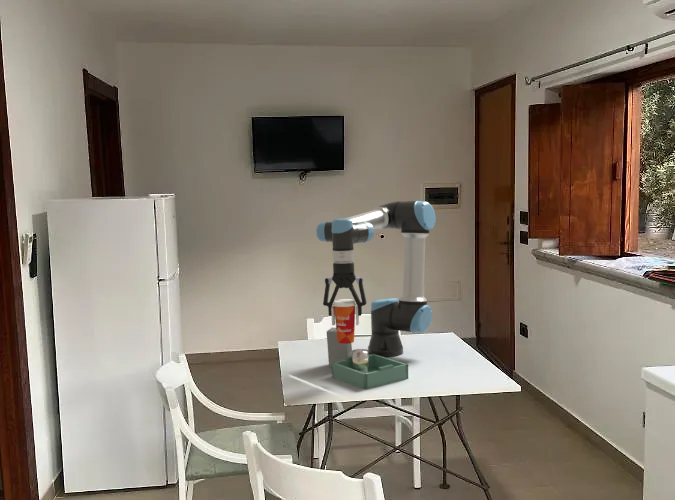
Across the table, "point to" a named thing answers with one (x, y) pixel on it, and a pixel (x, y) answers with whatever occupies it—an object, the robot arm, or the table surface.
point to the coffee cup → (345, 320)
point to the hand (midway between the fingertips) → (345, 324)
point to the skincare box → (337, 348)
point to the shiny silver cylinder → (360, 360)
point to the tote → (371, 372)
